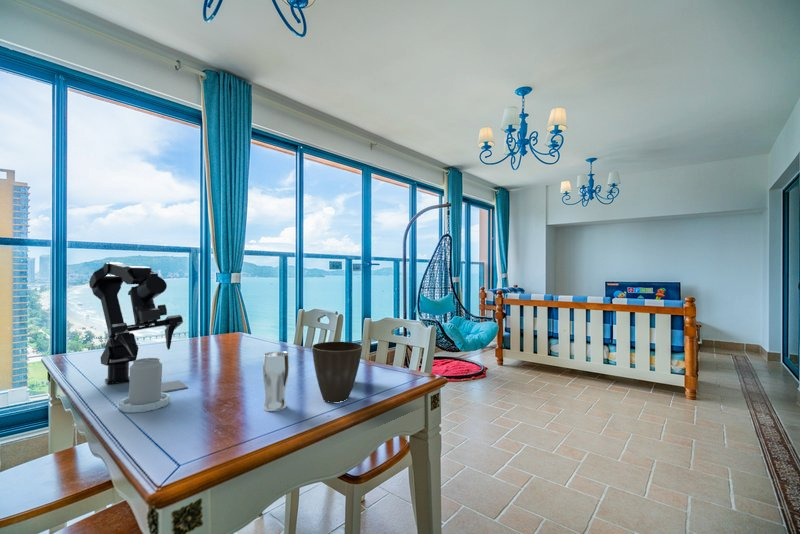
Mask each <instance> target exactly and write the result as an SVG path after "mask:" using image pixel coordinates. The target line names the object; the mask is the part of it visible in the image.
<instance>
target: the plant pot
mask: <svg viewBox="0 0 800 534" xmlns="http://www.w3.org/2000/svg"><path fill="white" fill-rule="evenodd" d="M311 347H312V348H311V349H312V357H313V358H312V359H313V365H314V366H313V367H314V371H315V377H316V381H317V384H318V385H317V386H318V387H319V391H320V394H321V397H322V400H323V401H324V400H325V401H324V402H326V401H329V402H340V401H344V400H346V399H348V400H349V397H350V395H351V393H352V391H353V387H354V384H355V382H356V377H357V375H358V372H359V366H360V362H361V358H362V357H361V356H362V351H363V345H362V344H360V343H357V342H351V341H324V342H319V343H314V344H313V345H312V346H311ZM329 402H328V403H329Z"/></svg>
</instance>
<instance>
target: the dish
mask: <svg viewBox="0 0 800 534" xmlns="http://www.w3.org/2000/svg"><path fill="white" fill-rule="evenodd" d="M170 401H171V394H169V392H164V393H163V392H161V399H159V400H158V401H157V402H155V403H149V404H144V405H132V404H130V403H129V396H127V397H124V398H123V399H121V400H119V402H118V403H119V411H120V412H122V413H126V412H127V413H131V414H136V413H137V412H139V413H146V411H147V412H151V410H152V411H155V409H156V410H159V409H162V408H163V407H166V406H168V405H169V404H170ZM161 407H162V408H161Z"/></svg>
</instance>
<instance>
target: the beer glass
mask: <svg viewBox="0 0 800 534" xmlns="http://www.w3.org/2000/svg"><path fill="white" fill-rule="evenodd" d="M289 358H290V356H289V352H287V351H269V352H266V353H263V361H262V379H263V380H262V382H263V385H264V394H265V395H264V403H263V411H265V412H269V411H271V412H272V411H275V412H280V411H279V410H281V411H283V410H285V409H286V408H287V401H286V389H287V385H288V379H289V372H290V371H289V370H290V360H289ZM284 408H285V409H284ZM282 409H283V410H282ZM271 412H270V413H271Z"/></svg>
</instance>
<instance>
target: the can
mask: <svg viewBox="0 0 800 534" xmlns="http://www.w3.org/2000/svg"><path fill="white" fill-rule="evenodd" d="M129 377H130V378H129V381H128V382H129V383H128V397H129V403H130V404H132V405H144V404H149V403H155V402H157V401H158V400H159V399H161V384H162V383H163V382H162V380H163V378H162V377H163V364H162V362H161V361H160V358H158V357H146V358H139V359H136V360H135V361H132V364H131V366H129Z"/></svg>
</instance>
